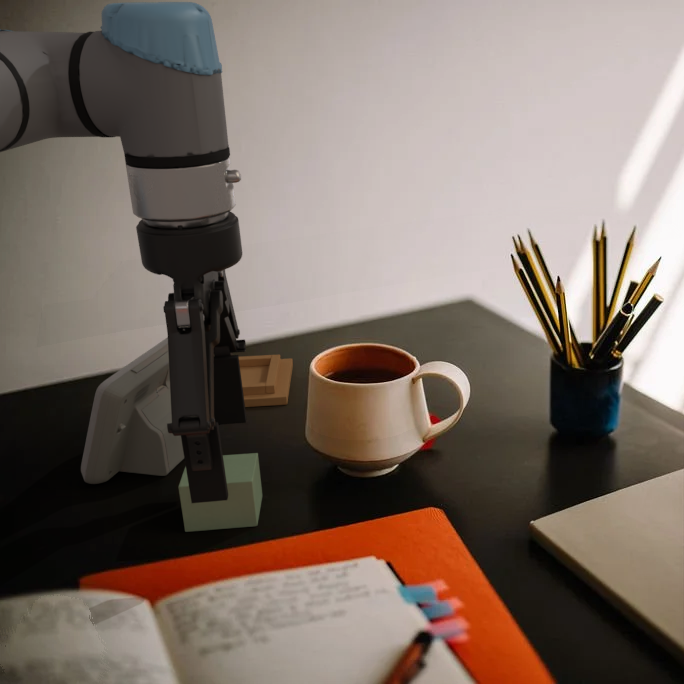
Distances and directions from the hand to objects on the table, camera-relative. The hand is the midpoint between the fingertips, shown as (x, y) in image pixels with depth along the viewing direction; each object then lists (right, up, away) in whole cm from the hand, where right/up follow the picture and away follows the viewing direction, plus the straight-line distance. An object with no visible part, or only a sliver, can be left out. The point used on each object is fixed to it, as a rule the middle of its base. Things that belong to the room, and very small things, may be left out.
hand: (221, 458), depth 78 cm
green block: (0, -5, +2) cm, 6 cm away
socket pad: (-7, +5, +26) cm, 28 cm away
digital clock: (-11, -1, +13) cm, 17 cm away
